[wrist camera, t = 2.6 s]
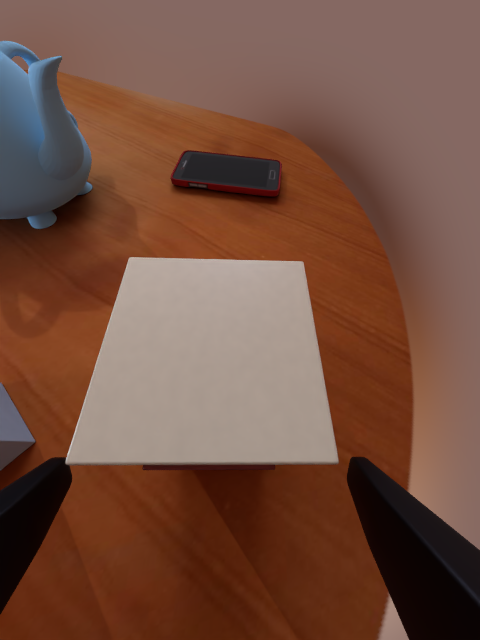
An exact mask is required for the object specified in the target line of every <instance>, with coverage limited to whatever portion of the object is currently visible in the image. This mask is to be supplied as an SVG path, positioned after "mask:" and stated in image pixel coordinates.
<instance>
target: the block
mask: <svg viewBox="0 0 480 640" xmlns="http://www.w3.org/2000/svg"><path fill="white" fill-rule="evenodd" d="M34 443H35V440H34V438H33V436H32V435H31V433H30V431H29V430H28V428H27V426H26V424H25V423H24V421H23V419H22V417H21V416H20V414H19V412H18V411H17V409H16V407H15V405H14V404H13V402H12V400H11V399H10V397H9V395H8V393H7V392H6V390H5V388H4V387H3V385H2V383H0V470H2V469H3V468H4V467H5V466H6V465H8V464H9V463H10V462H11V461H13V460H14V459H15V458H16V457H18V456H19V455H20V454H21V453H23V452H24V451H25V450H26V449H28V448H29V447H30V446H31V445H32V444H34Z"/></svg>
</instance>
